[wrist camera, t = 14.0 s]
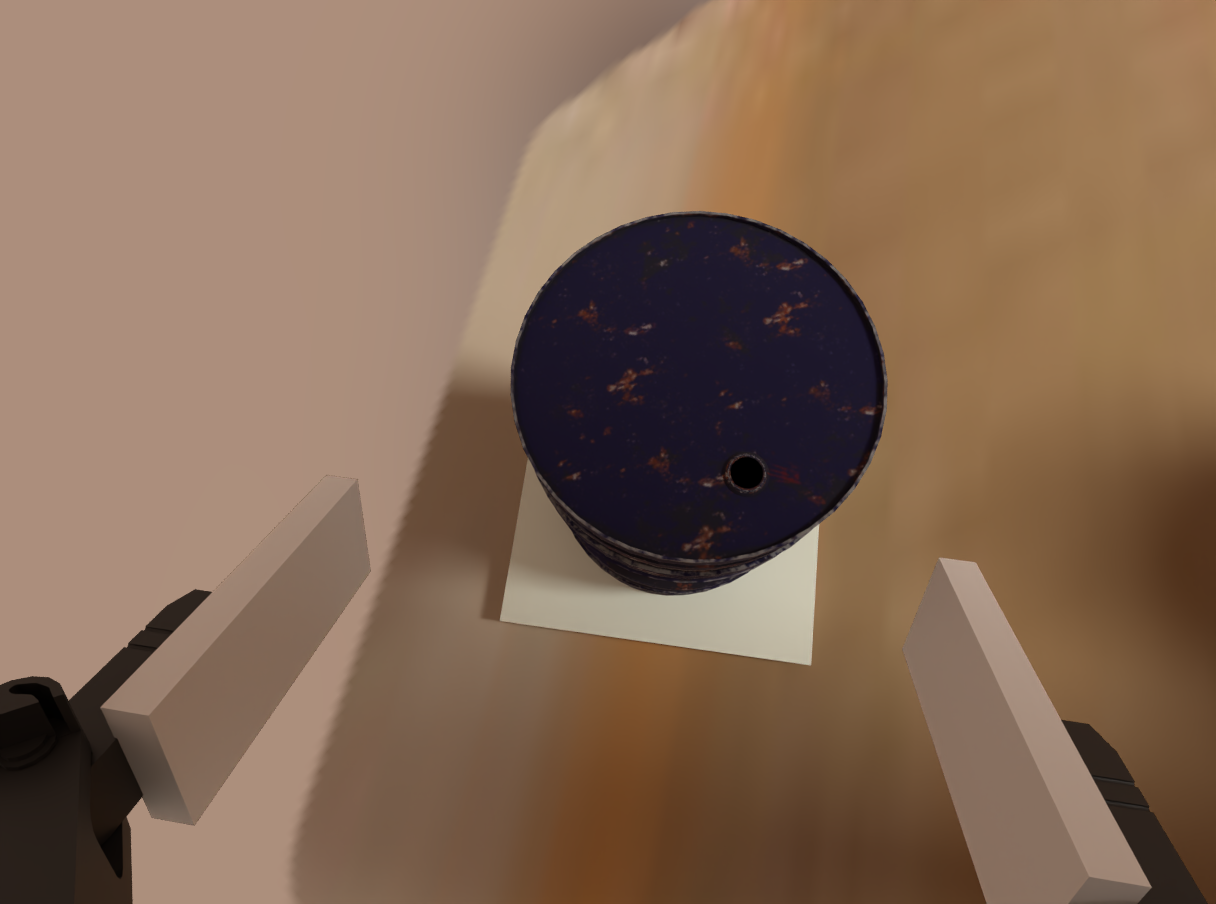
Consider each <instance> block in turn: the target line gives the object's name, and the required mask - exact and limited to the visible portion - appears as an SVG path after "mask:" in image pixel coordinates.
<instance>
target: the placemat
mask: <svg viewBox="0 0 1216 904" xmlns="http://www.w3.org/2000/svg"><path fill="white" fill-rule="evenodd" d="M818 533H819V524H818V525H817V526H816V527H815V528H813V529H812V530H811V531H810V532H809V533H808V534H807V535H805V536H804V537H803V538H802V539H800V540H799V541H798V542H797V543H795V544H794V545H793V546H792V547H790V548H789V549H787V550H785V551H783V552H782V553H780V554H779V555H777V556H776V557H775V558H773V559H771V560H769V561H767V562H766V563H764V564H762V565H760V566H759V567H757V568H755V569H753V570H751V571H749V572H748V573H747V574H745V575H743V576H742V577H740V578H738V579H736V580H734V581H733V582H731V583H728V584H726V585H723V586H720V587H717V588H714V589H711V590H709V591H706V592H700V593H695V594H689V595H673V596H666V595H658V594H651V593H647V592H644V591H641V590H637V589H634V588H632V587H630V586H628V585H626V584H624V583H622V582H620V581H618V580H617V579H615V578H614V577H612V576H611V575H610V574H608V573H607V572H605V571H604V570H603V569H601V568H600V567H599V566H598V565H597V564H596V563H595V562H594V561H593V560H592V559H591V558H590V557H589V556H588V555H587V554H586V552H585V551H584V550H583V548H582V547H581V546H580V544H579V543H578V542H577V540H576V539H575V537H574V535H573V533H572V531H571V530H570V528H569V527H568V525H567V524H566V523H565V521H564V520H563V519H562V517H561V516H560V515H559V513H558V512H557V511H556V509H555V507H554V506H553V504H552V503H551V501H550V500H549V498H548V497H547V495H546V493H545V491H544V489H543V487H542V485H541V483H540V482H539V480H538V478H537V476H536V474H535V471H534V468H533V466H532V464H531V462H530V460H529V459H528V460H527V466H526V471H525V477H524V483H523V489H522V494H521V500H520V506H519V512H518V518H517V523H516V529H515V535H514V541H513V547H512V552H511V558H510V564H509V570H508V575H507V581H506V587H505V593H504V599H503V604H502V610H501V616H500V621H504V622H511V623H518V624H525V625H532V626H539V627H546V628H553V629H560V630H567V631H574V632H581V633H588V634H595V635H602V636H609V637H616V638H623V639H630V640H637V641H644V642H651V643H658V644H665V645H672V646H679V647H686V648H693V649H700V650H707V651H714V652H721V653H728V654H735V655H742V656H749V657H756V658H763V659H770V660H777V661H784V662H791V663H798V664H805V665H811V657H812V640H813V622H814V604H815V586H816V569H817V551H818Z"/></svg>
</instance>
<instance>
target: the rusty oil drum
mask: <svg viewBox="0 0 1216 904" xmlns="http://www.w3.org/2000/svg"><path fill="white" fill-rule="evenodd" d="M511 401H512V407H513V414H514V421H515V425H516V428H517V431H518V434H519V437H520V440H521V443H522V446H523V449H524V451H525V453H526V455H527V457H528V459H529V460H530V462H531V464H532V466H533V468H534V471H535V474H536V476H537V478H538V480H539V482H540V483H541V485H542V487H543V489H544V491H545V493H546V495H547V497H548V498H549V500H550V501H551V503H552V504H553V506H554V507H555V509H556V511H557V512H558V513H559V515H560V516H561V517H562V519H563V520H564V521H565V523H566V524H567V525H568V527H569V528H570V530H571V531H572V533H573V535H574V537H575V539H576V540H577V542H578V543H579V544H580V546H581V547H582V548H583V550H584V551H585V552H586V554H587V555H588V556H589V557H590V558H591V559H592V560H593V561H594V562H595V563H596V564H597V565H598V566H599V567H600V568H601V569H603V570H604V571H605V572H607V573H608V574H610V575H611V576H612V577H614V578H615V579H617V580H618V581H620V582H622V583H624V584H626V585H628V586H630V587H632V588H634V589H637V590H641V591H644V592H647V593H651V594H658V595H666V596H673V595H689V594H695V593H700V592H706V591H709V590H711V589H714V588H717V587H720V586H723V585H726V584H728V583H731V582H733V581H734V580H736V579H738V578H740V577H742V576H743V575H745V574H747V573H748V572H749V571H751V570H753V569H755V568H757V567H759V566H760V565H762V564H764V563H766V562H767V561H769V560H771V559H773V558H775V557H776V556H777V555H779V554H780V553H782V552H783V551H785V550H787V549H789V548H790V547H792V546H793V545H794V544H795V543H797V542H798V541H799V540H800V539H802V538H803V537H804V536H805V535H807V534H808V533H809V532H810V531H811V530H812V529H813V528H815V527H816V526H817V525H818V524H820V523H821V522H822V521H823V520H825V519H826V518H827V517H828V516H830V515H831V514H832V513H833V512H835V511H836V509H837V508H838V507H839V506H840V505H841V504H842V503H843V502H844V500H845V499H846V498H847V497H848V496H849V495H850V494H851V493H852V491H853V490H854V489H855V488H856V486H857V484H858V483H859V481H860V480H861V478H862V476H863V475H864V473H865V471H866V470H867V468H868V467H869V465H870V463H871V461H872V458H873V455H874V453H875V450H876V448H877V445H878V443H879V440H880V438H881V434H882V429H883V424H884V419H885V415H886V410H887V374H886V367H885V360H884V353H883V350H882V347H881V344H880V340H879V337H878V334H877V331H876V328H875V325H874V323H873V321H872V319H871V318H870V316H869V314H868V312H867V310H866V308H865V306H864V304H863V302H862V300H861V299H860V298H859V296H858V295H857V293H856V292H855V291H854V289H853V288H852V287H851V285H850V284H849V282H848V281H847V280H846V279H845V278H844V277H843V276H842V275H841V274H840V272H839V271H838V270H837V269H836V268H835V267H834V266H833V265H832V264H831V263H830V262H829V261H828V260H827V259H825V258H824V257H823V256H821V255H820V254H819V253H817V252H816V251H815V250H813V249H812V248H811V247H809V246H808V245H807V244H805V243H804V242H802V241H800V240H798V239H797V238H795V237H793V236H791V235H789V234H788V233H786V232H784V231H782V230H780V229H777V228H775V227H772V226H770V225H767V224H764V223H762V222H759V221H756V220H753V219H749V218H745V217H740V216H736V215H732V214H727V213H716V212H705V211H691V212H672V213H667V214H661V215H656V216H650V217H645V218H642V219H639V220H636V221H633V222H630V223H627V224H624V225H621V226H619V227H617V228H615V229H613V230H611V231H609V232H607V233H605V234H603V235H601V236H599V237H597V238H595V239H594V240H592V241H591V242H589V243H588V244H586V245H585V246H584V247H582V248H581V249H579V250H578V251H576V252H575V253H574V254H573V255H571V256H570V257H569V258H568V259H567V260H566V261H565V262H564V263H563V264H562V265H561V266H560V267H559V268H558V269H557V270H556V271H554V273H553V274H552V275H551V277H550V278H549V279H548V280H547V282H546V283H545V284H544V286H543V287H542V288H541V289H540V291H539V292H538V293H537V295H536V297H535V299H534V301H533V302H532V304H531V306H530V308H529V310H528V311H527V313H526V315H525V317H524V320H523V323H522V326H521V328H520V331H519V334H518V337H517V339H516V344H515V349H514V354H513V360H512V365H511Z"/></svg>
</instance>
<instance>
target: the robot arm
mask: <svg viewBox="0 0 1216 904" xmlns="http://www.w3.org/2000/svg"><path fill="white" fill-rule="evenodd" d="M370 571H371V570H370V563H369V556H368V548H367V542H366V534H365V528H364V521H363V514H362V507H361V500H360V493H359V486H358V479H352V478H345V477H337V476H330V475H326V476H325V477H324V478H323V479H322V480H321V481H320V482H319V483H318V484H317V485H316V486H315V487H314V488H313V489H312V490H311V491H310V492H309V493H308V494H307V495H306V496H305V497H304V498H303V499H302V500H301V501H300V503H299V504H298V505H297V506H296V507H295V508H294V509H293V510H292V511H291V512H290V513H289V514H288V515H287V516H286V517H285V518H284V519H283V520H282V521H281V522H280V523H279V524H278V525H277V526H276V527H275V528H274V530H272V531H271V532H270V533H269V534H268V535H267V536H266V538H265V539H264V540H263V541H262V542H261V543H260V544H259V545H258V546H257V547H256V548H255V549H254V550H253V551H252V552H251V553H250V554H249V555H248V556H247V557H246V558H245V559H244V560H243V561H242V562H241V563H240V564H239V565H238V566H237V567H236V568H235V569H234V570H233V572H232V573H230V575H229V576H228V577H227V578H226V579H225V580H224V581H223V582H222V583H221V584H220V585H219V586H218V587H217V588H216V589H215V590H214V591H213V592H209V591H202V590H196V589H195V590H193V591H191V592H190V593H188V594H186V595H185V596H183V597H181V598H180V599H178V600H176V601H175V602H173V603H171V604H169V605H167V606H166V607H165V608H164V609H163V610H162V611H161V612H160V613H159V614H158V615H157V616H156V617H155V618H154V619H153V620H152V621H151V622H150V623H149V624H148V625H146V628H145V630H144V631H143V630H142V631H140V632H139V633H138V634H137V635H136V636H135V637H134V638H133V639H132V640H131V641H130V642H129V643H128V647H127V648H125V647H124V648H123V649H122V650H121V651H120V652H119V653H118V654H117V655H116V656H114V657H113V658H112V659H111V660H110V661H109V662H108V663H107V665H105V666H104V667H103V668H102V669H101V670H100V671H99V672H98V673H97V674H96V675H95V676H94V677H93V678H92V679H91V680H90V681H89V682H88V683H87V684H86V685H85V686H83V687H82V689H80V690H79V692H77V693H76V694H75V695H74V696H73V697H72V698H71V699H70V700H69V701H68V699H67V697H66V695H65V693H64V691H63V689H62V687H61V685H60V683H58V682H56V681H54V680H53V679H51V678H49V677H33V676H32V677H27V678H22V679H17V680H11V681H9V682H6V683H4V684H2V685H0V904H132V866H131V829H130V826H129V823H128V820H127V817H126V816H127V815H128V814H129V812H130V811H131V810H132V809H133V808H134V806H135V805H136V804H137V802H138V801H139V800H140V799H141V797H142V798H143V800H144V802H145V804H146V806H147V808H148V811H149V813H150V815H151V817H152V818H156V819H161V820H167V821H172V822H178V823H183V824H188V825H195V824H196V822H197V821H198V820H199V818H200V817H201V815H202V814H203V812H204V811H205V810H206V808H207V807H208V805H209V804H210V802H211V801H212V800H213V798H214V796H215V795H216V794H217V792H218V791H219V789H220V788H221V787H222V785H223V784H224V782H225V780H226V779H227V778H228V776H229V775H230V774H231V772H232V771H233V769H234V768H235V766H236V765H237V763H238V762H239V761H240V759H241V758H242V756H243V755H244V753H245V752H246V750H247V749H248V747H249V746H250V744H251V743H252V742H253V740H254V739H255V737H256V736H257V735H258V733H259V732H260V730H261V729H262V727H263V726H264V724H265V723H266V722H267V720H268V719H269V717H270V716H271V714H272V713H273V711H274V710H275V709H276V707H277V706H278V704H279V703H280V701H281V700H282V698H283V697H284V696H285V694H286V693H287V691H288V690H289V688H290V687H291V685H292V684H293V683H294V681H295V680H296V678H297V677H298V675H299V674H300V672H301V671H302V670H303V668H304V667H305V665H306V664H307V662H308V661H309V659H310V658H311V657H312V655H313V654H314V652H315V651H316V649H317V648H318V646H319V645H320V643H321V642H322V640H323V639H324V638H325V636H326V635H327V633H328V632H329V630H330V629H331V628H332V626H333V625H334V623H335V622H336V620H337V619H338V618H339V616H340V615H341V613H342V612H343V610H344V609H345V607H346V606H347V605H348V603H349V602H350V600H351V599H352V597H353V596H354V594H355V593H356V592H357V590H358V589H359V587H360V586H361V584H362V583H363V581H364V580H365V579H366V577H367V576H368V574H369V573H370ZM902 650H903V653H904V656H905V659H906V662H907V665H908V668H909V671H910V674H911V677H912V680H913V683H914V686H915V689H916V692H917V695H918V698H919V701H920V704H921V707H922V710H923V713H924V716H925V719H926V722H927V725H928V728H929V731H930V734H931V737H932V740H933V743H934V746H935V749H936V752H937V755H938V758H939V761H940V764H941V767H942V770H943V774H944V777H945V780H946V783H947V786H948V789H949V792H950V795H951V798H952V801H953V804H954V807H955V810H956V813H957V816H958V819H959V822H960V825H961V828H962V831H963V834H964V837H965V840H966V843H967V846H968V849H969V852H970V855H971V858H972V861H973V864H974V867H975V870H976V873H977V876H978V879H979V882H980V885H981V888H982V891H983V894H984V897H985V900H986V903H987V904H1208V903H1207V902H1206V900H1205V898H1204V897H1203V895H1202V893H1201V892H1200V890H1199V888H1198V887H1197V885H1196V883H1195V882H1194V880H1193V878H1192V877H1191V875H1190V873H1189V872H1188V870H1187V868H1186V867H1185V865H1184V863H1183V862H1182V860H1181V858H1180V857H1179V855H1178V853H1177V852H1176V850H1175V848H1174V847H1173V845H1172V843H1171V842H1170V840H1169V838H1168V837H1167V835H1166V833H1165V832H1164V830H1163V828H1162V827H1161V825H1160V823H1159V822H1158V820H1157V818H1156V817H1155V815H1154V813H1153V812H1150V811H1149V805H1148V803H1147V802H1146V800H1145V798H1144V797H1143V795H1142V793H1141V792H1140V790H1139V788H1138V787H1135V786H1134V782H1135V781H1134V780H1133V778H1132V776H1131V775H1130V773H1129V771H1128V770H1127V768H1126V766H1125V765H1124V763H1123V761H1122V760H1121V758H1120V756H1119V755H1118V753H1117V752H1116V751H1115V750H1114V749H1113V748H1112V747H1111V746H1110V745H1109V744H1108V743H1107V742H1106V741H1105V740H1104V739H1103V738H1102V737H1101V736H1100V735H1099V734H1098V733H1097V732H1096V731H1095V730H1094V729H1093V728H1092V727H1091V726H1090V725H1089V724H1084V723H1078V722H1071V721H1065V720H1061V719H1060V717H1059V715H1058V713H1057V712H1056V710H1055V708H1054V706H1053V704H1052V702H1051V701H1050V699H1049V697H1048V695H1047V693H1046V691H1045V689H1044V688H1043V686H1042V684H1041V682H1040V680H1039V678H1038V677H1037V675H1036V673H1035V671H1034V669H1033V667H1032V665H1031V664H1030V662H1029V660H1028V658H1027V656H1026V654H1025V653H1024V651H1023V649H1022V647H1021V645H1020V643H1019V641H1018V640H1017V638H1016V636H1015V634H1014V632H1013V630H1012V629H1011V627H1010V625H1009V623H1008V621H1007V619H1006V617H1005V616H1004V614H1003V612H1002V610H1001V608H1000V606H999V605H998V603H997V601H996V599H995V597H994V595H993V593H992V592H991V590H990V588H989V586H988V584H987V582H986V581H985V579H984V577H983V575H982V573H981V571H980V569H979V568H978V566H977V564H976V562H969V561H961V560H954V559H947V558H939V559H938V561H937V564H936V566H935V569H934V571H933V574H932V576H931V579H930V581H929V584H928V586H927V588H926V591H925V593H924V596H923V598H922V601H921V603H920V606H919V608H918V611H917V613H916V616H915V618H914V621H913V623H912V626H911V628H910V631H909V633H908V636H907V638H906V641H905V643H904V646H903V648H902Z"/></svg>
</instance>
